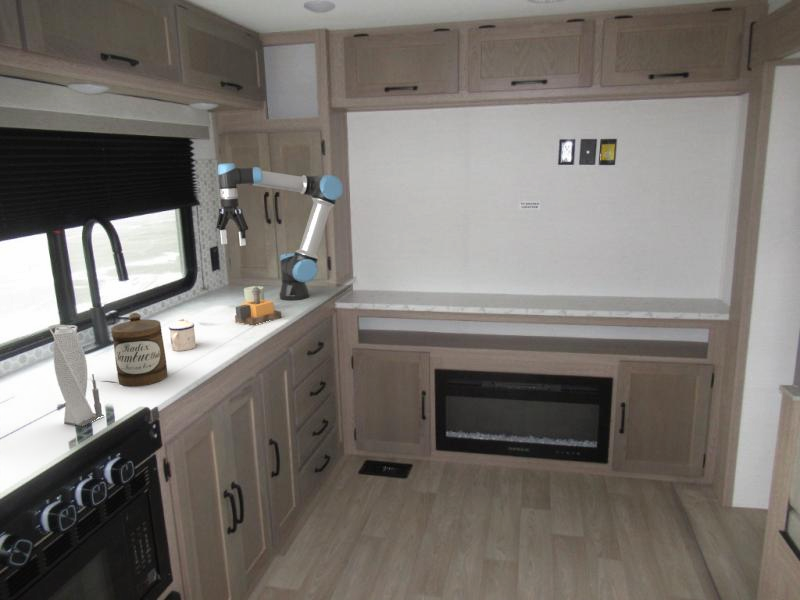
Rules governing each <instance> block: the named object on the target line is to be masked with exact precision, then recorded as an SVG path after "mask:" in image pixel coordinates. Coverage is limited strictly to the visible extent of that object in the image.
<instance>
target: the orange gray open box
mask: <svg viewBox="0 0 800 600" xmlns="http://www.w3.org/2000/svg"><path fill="white" fill-rule="evenodd" d="M274 306H275V304H274V301H273V300H271V301H270V300H265V299H264V300H261V299H260V304H257V305H255V304H254V300H253V301H249V302H245V301H244V302H241V303H240V305H239V306H235V315H236V318H238V319H244V318H247V317H251V316H252V317H260V316H263V315H267V314H271V313H274V310H275V307H274Z"/></svg>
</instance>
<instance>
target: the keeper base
mask: <svg viewBox="0 0 800 600" xmlns="http://www.w3.org/2000/svg"><path fill="white" fill-rule="evenodd" d="M252 293H253V295H254V304H255V305H257V304H260V297H259V294H260V289H259V288H257V287H255V288H253V290H252ZM277 318H279V319H282V311H281V310H275V309H274V313H271V314H267V315H263V316H260V317H252V316H251V317H247V318H244V319H238V318H236V314H235V315H234V319H235V323H237V322H239V323H238V324H241V323H244V324H243V325H246V324H249V325H248V326H251V325H255V326H257V325H256V324H258V325H260V324H259V323H262V324H264V323H263V322H265V323H267V322H266V321H269V320H272V321H275V320H274V319H276V320H278V319H277ZM269 322H270V321H269Z"/></svg>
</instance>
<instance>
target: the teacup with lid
mask: <svg viewBox="0 0 800 600" xmlns="http://www.w3.org/2000/svg"><path fill="white" fill-rule="evenodd" d="M168 329H169V334H170V341H171V349H172V350H173V351H175V352H183V351H189V350H193V349H195V348H196V346H197V344H196V343H197V342H196V332H195V323H194V322H191V321H188V320H186V319H185V317H179V318H177V320H176V321H174V323H171V324H169V325H168Z"/></svg>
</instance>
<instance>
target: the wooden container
mask: <svg viewBox="0 0 800 600" xmlns="http://www.w3.org/2000/svg"><path fill="white" fill-rule="evenodd" d="M128 319H129V321H124V322H121V323H118V324H116V325H113V326H112V327H111V331H110V332H111V337H112V341H113V349H114V356H115V357H114V358H115V359H114V360H115V367H116V372H117V380H118V383H119V384H120V385H122V386H125V387H142V386H147V385H152V384H155V383H158V382H161V381H162V380H164V379H166V378H167V377H168V368H167V358H166V352H165V345H164V339H163V331H162V326H161V322H160V320H156V319H141V314H140V313H137V312H132V313H131V314H129V316H128Z"/></svg>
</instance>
